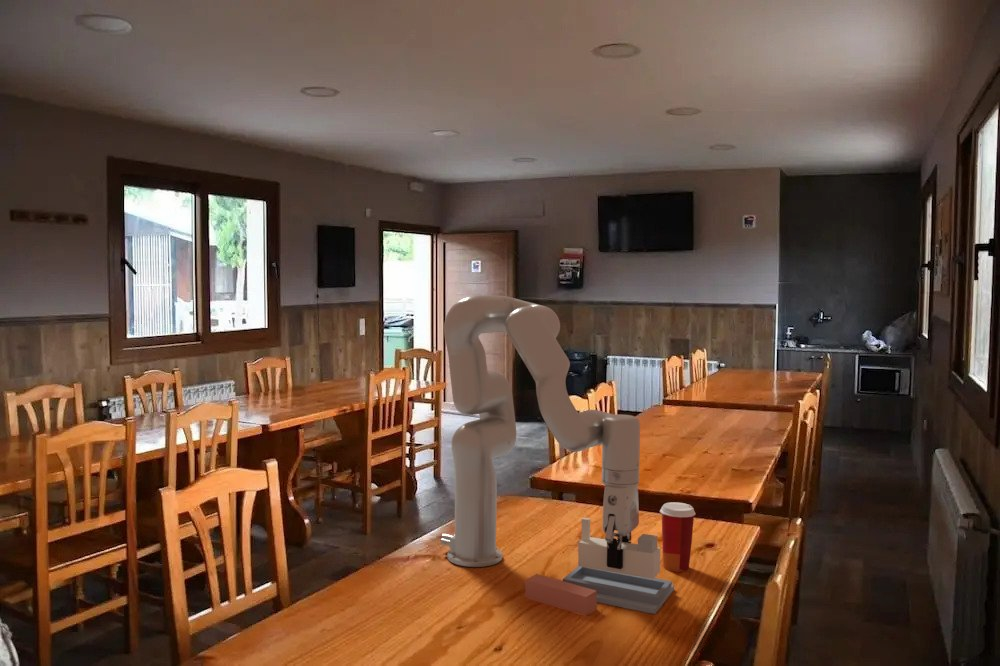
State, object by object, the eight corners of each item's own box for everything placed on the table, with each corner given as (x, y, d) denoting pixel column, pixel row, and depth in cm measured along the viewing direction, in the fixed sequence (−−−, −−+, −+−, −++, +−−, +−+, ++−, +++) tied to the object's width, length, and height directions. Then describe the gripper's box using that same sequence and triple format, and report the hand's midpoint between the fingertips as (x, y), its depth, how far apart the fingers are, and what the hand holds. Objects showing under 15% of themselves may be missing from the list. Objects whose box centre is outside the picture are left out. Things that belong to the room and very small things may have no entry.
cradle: (558, 594, 163) (559, 582, 163) (583, 572, 176) (583, 561, 175) (654, 614, 154) (655, 601, 154) (673, 589, 167) (674, 577, 166)
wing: (525, 599, 161) (525, 579, 161) (536, 592, 164) (536, 573, 164) (585, 617, 153) (586, 597, 153) (596, 610, 156) (596, 590, 156)
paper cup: (688, 561, 183) (690, 501, 183) (697, 574, 176) (699, 511, 175) (654, 561, 183) (656, 501, 182) (662, 573, 176) (664, 511, 175)
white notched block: (578, 566, 166) (578, 521, 165) (585, 559, 170) (586, 515, 169) (653, 579, 159) (654, 531, 158) (659, 571, 163) (660, 525, 162)
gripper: (625, 487, 154) (623, 580, 155) (650, 469, 169) (648, 554, 170) (588, 482, 157) (587, 573, 159) (616, 465, 172) (614, 548, 174)
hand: (618, 562), depth 164 cm, fingers closed on white notched block, 4 cm apart
